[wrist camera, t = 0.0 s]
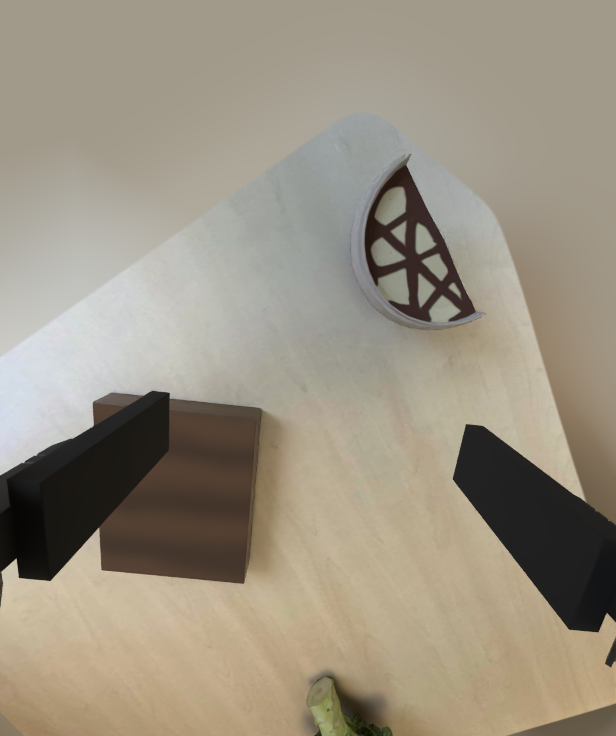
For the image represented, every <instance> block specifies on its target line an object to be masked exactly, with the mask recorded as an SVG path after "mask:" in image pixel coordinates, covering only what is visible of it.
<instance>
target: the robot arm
mask: <svg viewBox="0 0 616 736" xmlns="http://www.w3.org/2000/svg"><path fill="white" fill-rule="evenodd" d="M169 401H170V393H167V392H157V391H151V392H149V393H148V394H146V395H144V396H143V397H141V398H139V399H138V400H136V401H135V402H133V403H131V404H130V405H128V406H126V407H125V408H123V409H121V410H120V411H118V412H116V413H115V414H113V415H111V416H110V417H108V418H106V419H105V420H103V421H102V422H100V423H98V424H97V425H95V426H93V427H92V428H90V429H88V430H87V431H85V432H83V433H82V434H80V435H78V436H77V437H75V438H74V439H69V440H66V441H63V442H60V443H57V444H55V445H52V446H50V447H48V448H47V449H45V450H43V451H42V452H40V453H38V454H37V456H33V457H31V458H30V459H28V460H26V461H25V463H21V464H19V465H18V466H16V467H14V468H12V469H11V470H9V471H7V472H6V473H4V474H2V475H0V605H1V596H2V587H3V581H2V574H1V572H2V571H3V570H4V569H5V568H6V567H7V566H8V565H9V564H10V563H12V562H13V561H14V560H15V559H16V558H17V565H18V573H19V578H25V579H35V580H46V581H51V580H52V579H53V578H54V576H55V575H56V574H57V573H58V572H59V571H60V570H61V569H62V568H63V567H64V565H65V564H66V563H67V562H68V561H69V560H70V559H71V558H72V557H73V556H74V554H75V553H76V552H77V551H78V550H79V549H80V548H81V547H82V546H83V545H84V543H85V542H86V541H87V540H88V539H89V538H90V537H91V536H92V535H93V533H94V532H95V531H96V530H97V529H98V528H99V527H100V526H101V525H102V524H103V522H104V521H105V520H106V519H107V518H108V517H109V516H110V515H111V514H112V513H113V511H114V510H115V509H116V508H117V507H118V506H119V505H120V504H121V503H122V502H123V500H124V499H125V498H126V497H127V496H128V495H129V494H130V493H131V492H132V491H133V489H134V488H135V487H136V486H137V485H138V484H139V483H140V482H141V481H142V480H143V478H144V477H145V476H146V475H147V474H148V473H149V472H150V471H151V470H152V469H153V467H154V466H155V465H156V464H157V463H158V462H159V461H160V460H161V459H162V457H163V456H164V455H165V454H166V453H167V452H168V451H169ZM453 480H454V482H455V483H456V484H457V485H458V487H459V488H460V489H461V491H462V492H463V493H464V494H465V496H466V497H467V498H468V500H469V501H470V502H471V504H472V505H473V506H474V507H475V509H476V510H477V511H478V513H479V514H480V515H481V516H482V518H483V519H484V520H485V522H486V523H487V524H488V525H489V527H490V528H491V529H492V531H493V532H494V533H495V534H496V536H497V537H498V538H499V540H500V541H501V542H502V544H503V545H504V546H505V547H506V549H507V550H508V551H509V553H510V554H511V555H512V556H513V558H514V559H515V560H516V562H517V563H518V564H519V565H520V567H521V568H522V569H523V571H524V572H525V573H526V575H527V576H528V577H529V578H530V580H531V581H532V582H533V584H534V585H535V586H536V587H537V589H538V590H539V591H540V593H541V594H542V595H543V596H544V598H545V599H546V600H547V602H548V603H549V604H550V606H551V607H552V608H553V609H554V611H555V612H556V613H557V615H558V616H559V617H560V618H561V620H562V621H563V622H564V624H565V625H566V626H567V627H568V629H569V630H579V631H590V632H599V630H600V627H601V625H602V623H603V620H604V618H605V615H606V613H608V614H609V615H610V616H611V617H612V619H613V620H614V621H615V622H616V525H615V524H614V523H613V522H611V521H608V519H607V518H606V517H605V516H603V515H602V514H601V513H599V512H596V511H595V509H594V508H593V507H591V506H590V505H589V504H587V503H586V502H585V501H583V500H582V499H581V498H579V497H577V496H575V495H574V494H572V493H571V492H570V491H568V490H567V489H566V488H564V487H563V486H562V485H560V484H559V483H558V482H556V481H555V480H554V479H552V478H551V477H550V476H548V475H547V474H546V473H545V472H543V471H542V470H541V469H539V468H538V467H537V466H535V465H534V464H533V463H531V462H530V461H529V460H527V459H526V458H525V457H523V456H522V455H521V454H519V453H518V452H517V451H515V450H514V449H513V448H511V447H510V446H509V445H508V444H506V443H505V442H504V441H502V440H501V439H500V438H498V437H497V436H496V435H494V434H493V433H492V432H490V431H489V430H488V429H486V428H485V427H484V426H478V425H469V424H466V427H465V431H464V435H463V439H462V443H461V447H460V451H459V455H458V460H457V464H456V468H455V472H454V476H453ZM615 661H616V638H615V640H614V642H613V645H612V647H611V649H610V651H609V654H608V656H607V659H606V662H605V664H606V665H608V666H610V667H612V664H613V662H615Z"/></svg>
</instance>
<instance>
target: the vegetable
mask: <svg viewBox="0 0 616 736" xmlns="http://www.w3.org/2000/svg"><path fill="white" fill-rule="evenodd" d="M333 683H334V680H332V679H330V678H328V677H324V678H322V679H320V680H318V681H317V682H316V683H315V684H314V685H313V686H312V687H311V688H310V691H309V694H308V697H307V706H308V707H309V708H310V710H311V712H312V714H313V716H314V718H315V725H319V728H320V729H319V732H318V733H317V734H316V735H315V736H393V735H392V732H391V729H389V728H388V727H387V726H386V727H383V728H382V729H380V728H378V727H376V726H375V725H376V724H375V725H374V724H373V723H372V724H369V727H368V726H367V724H366V722H365V721H363V720H361V719H360V718H359V717H358V716H356V715H355V716H354V718H353V719H352V720H351V719H349V718H348V717H347V716H346V715H345V714H343V713H341V709H340V701H339V698H338V696H337V694H336V691H335V688H334V684H333ZM381 730H382V731H381Z"/></svg>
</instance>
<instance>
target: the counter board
mask: <svg viewBox="0 0 616 736" xmlns="http://www.w3.org/2000/svg"><path fill="white" fill-rule="evenodd" d="M141 397H143V396H137V395H128V394H118V393H110V394H108V395H106V396H104V397H102V398H100V399H98V400H96V401H94V402H93V416H94V426H95V425H97V424H98V423H100V422H102V421H103V420H105V419H106V418H108V417H110V416H111V415H113V414H115V413H116V412H118V411H120V410H121V409H123V408H125V407H126V406H128V405H130V404H131V403H133V402H135V401H136V400H138V399H139V398H141ZM260 418H261V409H260V408H251V407H241V406H232V405H222V404H213V403H203V402H194V401H184V400H175V399H170V401H169V451H168V452H167V453H166V454H165V455H164V456H163V457H162V459H161V460H160V461H159V462H158V463H157V464H156V465H155V466H154V467H153V469H152V470H151V471H150V472H149V473H148V474H147V475H146V476H145V477H144V478H143V480H142V481H141V482H140V483H139V484H138V485H137V486H136V487H135V488H134V489H133V491H132V492H131V493H130V494H129V495H128V496H127V497H126V498H125V499H124V500H123V502H122V503H121V504H120V505H119V506H118V507H117V508H116V509H115V510H114V511H113V513H112V514H111V515H110V516H109V517H108V518H107V519H106V520H105V521H104V522H103V524H102V525H101V526H100V527H99V530H100V549H101V568H102V570H105V571H116V572H126V573H137V574H147V575H158V576H168V577H179V578H189V579H200V580H211V581H221V582H232V583H242V584H244V582H245V577H246V573H247V569H248V564H249V556H250V544H251V531H252V519H253V506H254V493H255V481H256V468H257V456H258V443H259V431H260Z"/></svg>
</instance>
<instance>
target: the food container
mask: <svg viewBox="0 0 616 736" xmlns="http://www.w3.org/2000/svg"><path fill="white" fill-rule="evenodd" d="M410 156H411V154H409V155H408V156H406V154H404V155H403V156H401V157H400V158H398V159H397V160H395V161H394V162H393V163H392V164H390V165H389V166H388V167H387V168H385V169H384V170H383V171H382V173H381V174H380V175H379V176H378V177H377V178H376V179H375V180H374V181H373V183H372V184H371V186H370V187H369V188H368V190H367V191H366V193H365V195H364V197H363V199H362V201H361V203H360V205H359V207H358V210H357V212H356V215H355V218H354V222H353V227H352V233H351V248H350V251H351V260H352V266H353V270H354V273H355V277H356V280H357V282H358V284H359V286H360V288H361V290H362V292H363V293H364V295H365V296H366V298H367V299H368V301H369V302H370V303H371V304H372V305H373V306H374V307H375V308H376V309H377V310H378V311H379V312H380V313H382V314H383V315H384V316H385V317H387V318H388V319H390V320H392V321H394V322H396V323H398V324H400V325H403V326H406V327H409V328H414V329H420V330H440V329H446V328H452V327H456V326H460V325H463V324H466V323H470V322H472V321H474V320H476V319H478V318H480V317H482V316H483V315H485V313H483V312H479V311H475V309H474V307H473V304H472V301H471V300H470V299H469V297H468V295H467V293H466V291H465V289H464V287H463V285H462V282H461V280H460V278H459V276H458V273H457V271H456V269H455V266H454V264H453V261H452V258H451V256H450V253H449V251H448V248H447V246H446V243H445V241H444V239H443V237H442V235H441V233H440V232H439V230H438V228H437V226H436V224H435V223H434V221H433V219H432V217H431V215H430V213H429V212H428V210H427V208H426V206H425V204H424V202H423V200H422V197H421V195H420V193H419V191H418V189H417V187H416V185H415V183H414V181H413V179H412V176H411V174H410V172H409V170H408V168H407V166H406V164H407V162H408V160H409V158H410Z"/></svg>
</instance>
